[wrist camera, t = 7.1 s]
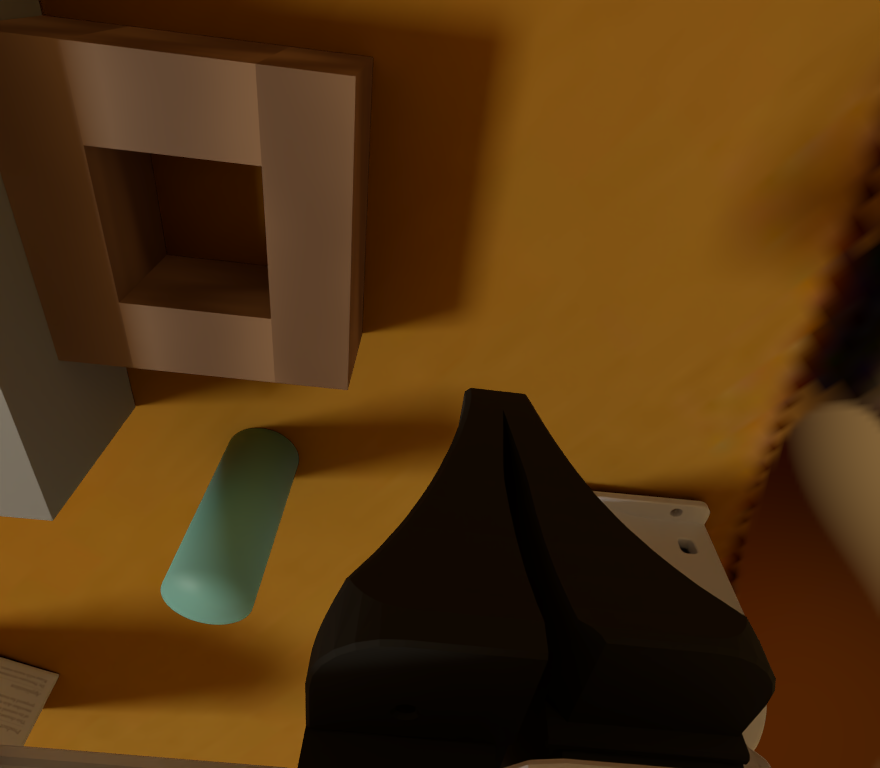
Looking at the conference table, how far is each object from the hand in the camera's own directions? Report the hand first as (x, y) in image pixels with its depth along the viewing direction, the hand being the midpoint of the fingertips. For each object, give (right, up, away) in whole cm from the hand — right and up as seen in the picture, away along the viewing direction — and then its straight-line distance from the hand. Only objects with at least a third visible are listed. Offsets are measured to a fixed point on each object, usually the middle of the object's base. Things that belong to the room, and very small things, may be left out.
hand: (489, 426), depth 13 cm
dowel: (-9, -2, +12) cm, 15 cm away
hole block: (-8, +7, +6) cm, 12 cm away
